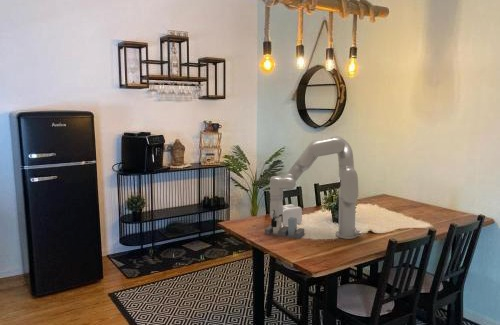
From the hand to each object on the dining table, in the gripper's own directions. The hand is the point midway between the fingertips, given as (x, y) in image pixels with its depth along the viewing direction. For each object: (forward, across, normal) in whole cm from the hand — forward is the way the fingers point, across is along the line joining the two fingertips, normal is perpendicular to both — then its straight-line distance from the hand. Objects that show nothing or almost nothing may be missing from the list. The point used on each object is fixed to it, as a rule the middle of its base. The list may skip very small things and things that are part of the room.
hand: (277, 224), depth 236 cm
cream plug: (+5, 0, 0) cm, 5 cm away
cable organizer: (+6, -22, -1) cm, 23 cm away
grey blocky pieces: (+6, 0, +5) cm, 8 cm away
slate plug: (+5, 0, +10) cm, 11 cm away
